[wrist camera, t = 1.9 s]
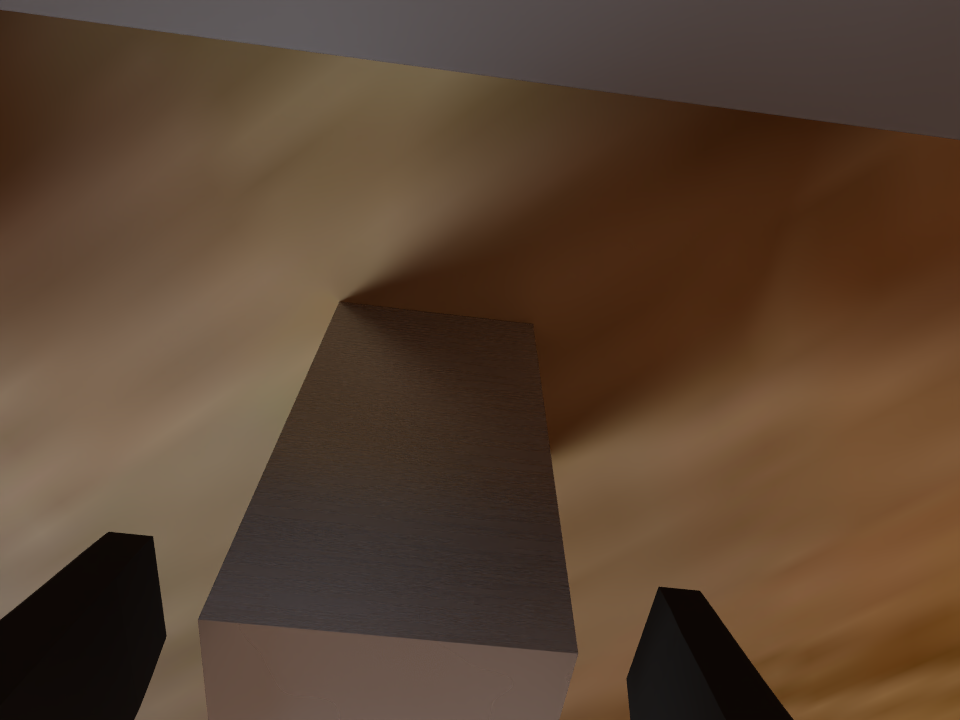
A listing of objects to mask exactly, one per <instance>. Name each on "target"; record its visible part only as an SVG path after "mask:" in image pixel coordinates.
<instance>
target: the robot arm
mask: <svg viewBox="0 0 960 720" xmlns="http://www.w3.org/2000/svg"><path fill="white" fill-rule="evenodd" d="M165 639H166V629H165V621H164V614H163V607H162V599H161V592H160V585H159V577H158V570H157V562H156V555H155V548H154V540H153V536H145V535H135V534H125V533H115V532H108V533H106V534H105V535H104V536H102V537H101V538H100V539H99V540H97V541H96V542H95V543H94V544H92V545H91V546H90V547H89V548H87V549H86V550H85V551H84V552H82V553H81V554H80V555H79V556H78V557H76V558H75V559H74V560H73V561H72V562H70V563H69V564H68V565H67V566H66V567H64V568H63V569H62V570H61V571H59V572H58V573H57V574H56V575H55V576H53V577H52V578H51V579H50V580H49V581H47V582H46V583H45V584H44V585H43V586H41V587H40V588H39V589H38V590H36V591H35V592H34V593H33V594H32V595H30V596H29V597H28V598H27V599H25V600H24V601H23V602H22V603H21V604H19V605H18V606H17V607H16V608H14V609H13V610H12V611H11V612H9V613H8V614H7V615H6V616H4V617H3V618H2V619H1V620H0V720H134V719H135V717H136V715H137V713H138V711H139V708H140V706H141V703H142V701H143V698H144V695H145V693H146V690H147V688H148V685H149V683H150V680H151V677H152V675H153V672H154V669H155V667H156V664H157V661H158V658H159V655H160V653H161V650H162V647H163V644H164V642H165ZM627 689H628V699H629V710H630V720H793V718H792V717H791V716H790V714H789V713H788V712H787V711H786V709H785V708H784V707H783V705H782V704H781V703H780V701H779V700H778V699H777V697H776V696H775V695H774V693H773V692H772V690H771V689H770V688H769V686H768V685H767V684H766V682H765V681H764V680H763V678H762V677H761V675H760V674H759V673H758V671H757V670H756V668H755V667H754V666H753V664H752V663H751V662H750V660H749V659H748V657H747V656H746V655H745V653H744V652H743V650H742V649H741V648H740V646H739V645H738V643H737V642H736V640H735V639H734V638H733V636H732V635H731V633H730V632H729V631H728V629H727V628H726V626H725V625H724V624H723V622H722V621H721V619H720V618H719V616H718V615H717V614H716V612H715V611H714V609H713V608H712V607H711V605H710V604H709V602H708V601H707V600H706V598H705V597H704V596H703V594H702V593H701V592H700V591H697V590H687V589H677V588H667V587H658V590H657V593H656V596H655V599H654V602H653V604H652V607H651V610H650V613H649V616H648V619H647V622H646V624H645V627H644V630H643V633H642V636H641V639H640V642H639V645H638V647H637V650H636V653H635V656H634V659H633V662H632V665H631V667H630V670H629V673H628V676H627Z"/></svg>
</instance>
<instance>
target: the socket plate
mask: <svg viewBox="0 0 960 720" xmlns="http://www.w3.org/2000/svg"><path fill="white" fill-rule="evenodd" d="M0 10H7V11H14V12H21V13H29V14H36V15H43V16H51V17H58V18H65V19H73V20H80V21H88V22H95V23H102V24H110V25H117V26H124V27H132V28H139V29H146V30H154V31H161V32H169V33H176V34H183V35H191V36H198V37H205V38H213V39H220V40H228V41H235V42H242V43H250V44H257V45H264V46H272V47H279V48H286V49H294V50H301V51H309V52H316V53H323V54H331V55H338V56H345V57H353V58H360V59H367V60H375V61H382V62H390V63H397V64H404V65H412V66H419V67H426V68H434V69H441V70H449V71H456V72H463V73H471V74H478V75H485V76H493V77H500V78H507V79H515V80H522V81H530V82H537V83H544V84H552V85H559V86H566V87H574V88H581V89H588V90H596V91H603V92H611V93H618V94H625V95H633V96H640V97H647V98H655V99H662V100H670V101H677V102H684V103H692V104H699V105H706V106H714V107H721V108H728V109H736V110H743V111H751V112H758V113H765V114H773V115H780V116H787V117H795V118H802V119H809V120H817V121H824V122H832V123H839V124H846V125H854V126H861V127H868V128H876V129H883V130H891V131H898V132H905V133H913V134H920V135H927V136H935V137H942V138H949V139H957V140H960V0H0Z"/></svg>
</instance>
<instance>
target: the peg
mask: <svg viewBox="0 0 960 720" xmlns="http://www.w3.org/2000/svg"><path fill="white" fill-rule="evenodd" d="M198 625H199V634H200V644H201V654H202V664H203V673H204V683H205V693H206V703H207V712H208V720H559V718H560V715H561V711H562V708H563V704H564V701H565V697H566V694H567V691H568V687H569V684H570V680H571V677H572V673H573V670H574V666H575V663H576V660H577V656H578V649H577V642H576V634H575V627H574V620H573V613H572V605H571V598H570V591H569V583H568V576H567V569H566V562H565V554H564V547H563V540H562V533H561V525H560V518H559V511H558V503H557V496H556V489H555V482H554V474H553V467H552V460H551V453H550V445H549V438H548V431H547V423H546V416H545V409H544V402H543V394H542V387H541V380H540V373H539V365H538V358H537V351H536V343H535V336H534V329H533V324H526V323H517V322H508V321H500V320H491V319H483V318H474V317H465V316H457V315H448V314H440V313H431V312H422V311H414V310H405V309H396V308H388V307H379V306H371V305H362V304H353V303H345V302H339V304H338V306H337V308H336V310H335V313H334V315H333V317H332V319H331V322H330V324H329V326H328V328H327V331H326V333H325V335H324V337H323V340H322V342H321V344H320V346H319V349H318V351H317V353H316V355H315V358H314V360H313V362H312V364H311V367H310V369H309V371H308V373H307V376H306V378H305V380H304V382H303V385H302V387H301V389H300V391H299V394H298V396H297V398H296V400H295V403H294V405H293V407H292V409H291V412H290V414H289V416H288V418H287V421H286V423H285V425H284V427H283V430H282V432H281V434H280V436H279V439H278V441H277V443H276V445H275V448H274V450H273V452H272V454H271V457H270V459H269V461H268V463H267V466H266V468H265V470H264V472H263V475H262V477H261V479H260V481H259V483H258V486H257V488H256V490H255V492H254V495H253V497H252V499H251V501H250V504H249V506H248V508H247V510H246V513H245V515H244V517H243V519H242V522H241V524H240V526H239V528H238V531H237V533H236V535H235V537H234V540H233V542H232V544H231V546H230V549H229V551H228V553H227V555H226V558H225V560H224V562H223V564H222V567H221V569H220V571H219V573H218V576H217V578H216V580H215V582H214V585H213V587H212V589H211V591H210V594H209V596H208V598H207V600H206V603H205V605H204V607H203V609H202V612H201V614H200V616H199V618H198Z"/></svg>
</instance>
